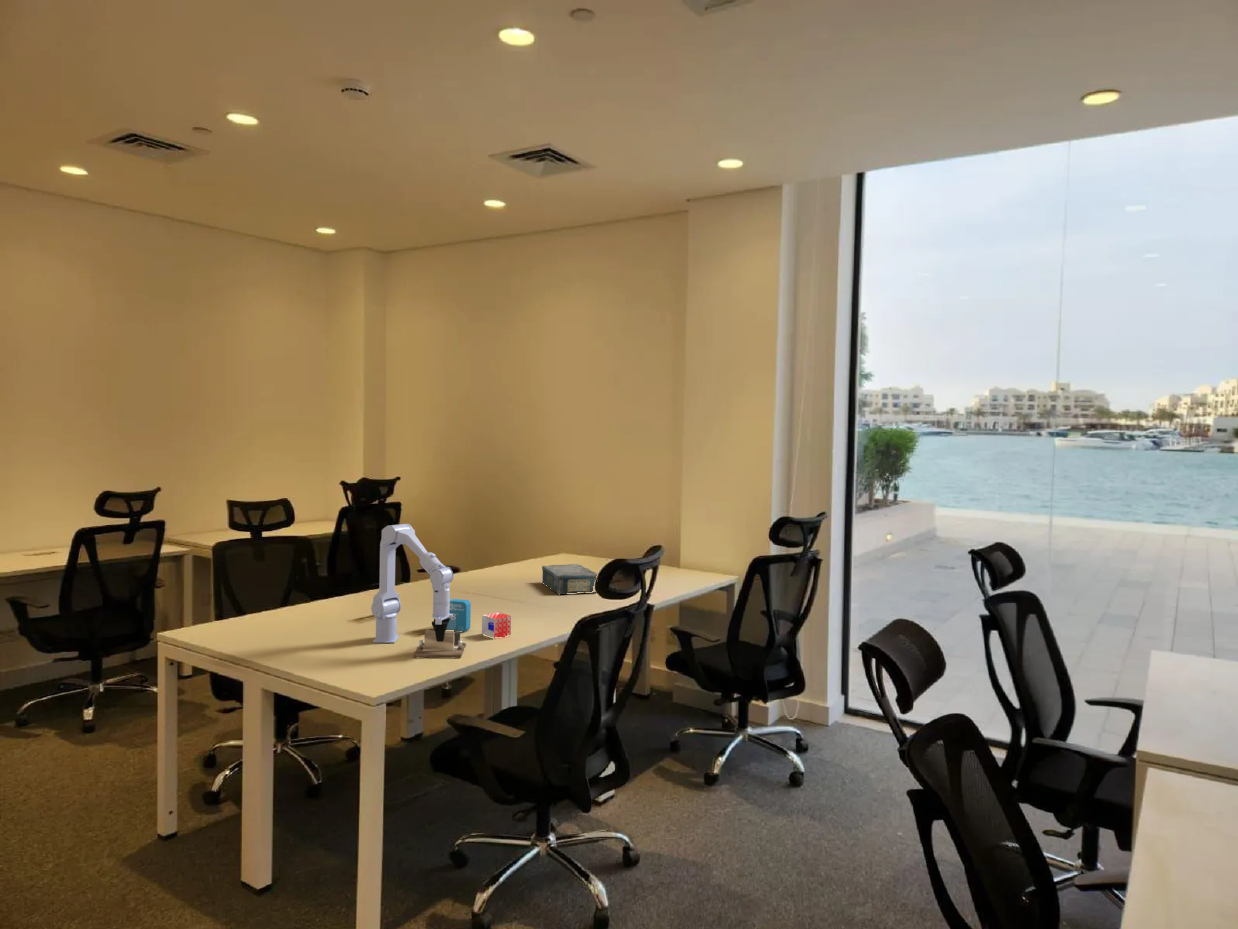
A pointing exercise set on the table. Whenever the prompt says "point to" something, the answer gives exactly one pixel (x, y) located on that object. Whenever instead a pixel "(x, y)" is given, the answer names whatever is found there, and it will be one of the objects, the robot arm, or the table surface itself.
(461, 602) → the data package
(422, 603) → the table surface
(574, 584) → the metal box
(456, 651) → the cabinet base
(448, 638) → the beige wooden block
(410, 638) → the table surface
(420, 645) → the hinge pins
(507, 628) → the puzzle cube
